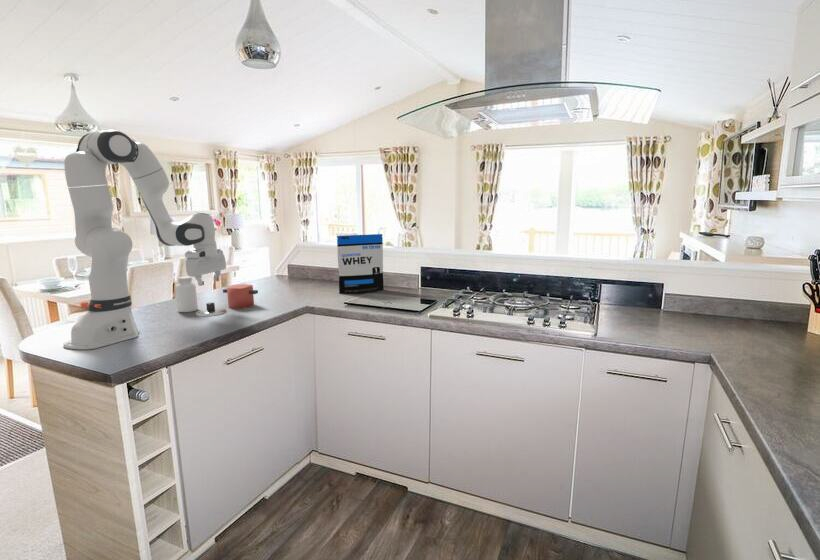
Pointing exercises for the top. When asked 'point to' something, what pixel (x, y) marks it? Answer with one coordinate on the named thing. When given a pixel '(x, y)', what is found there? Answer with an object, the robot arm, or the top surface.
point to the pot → (240, 296)
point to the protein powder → (360, 263)
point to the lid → (211, 310)
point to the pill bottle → (186, 295)
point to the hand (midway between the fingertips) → (209, 283)
